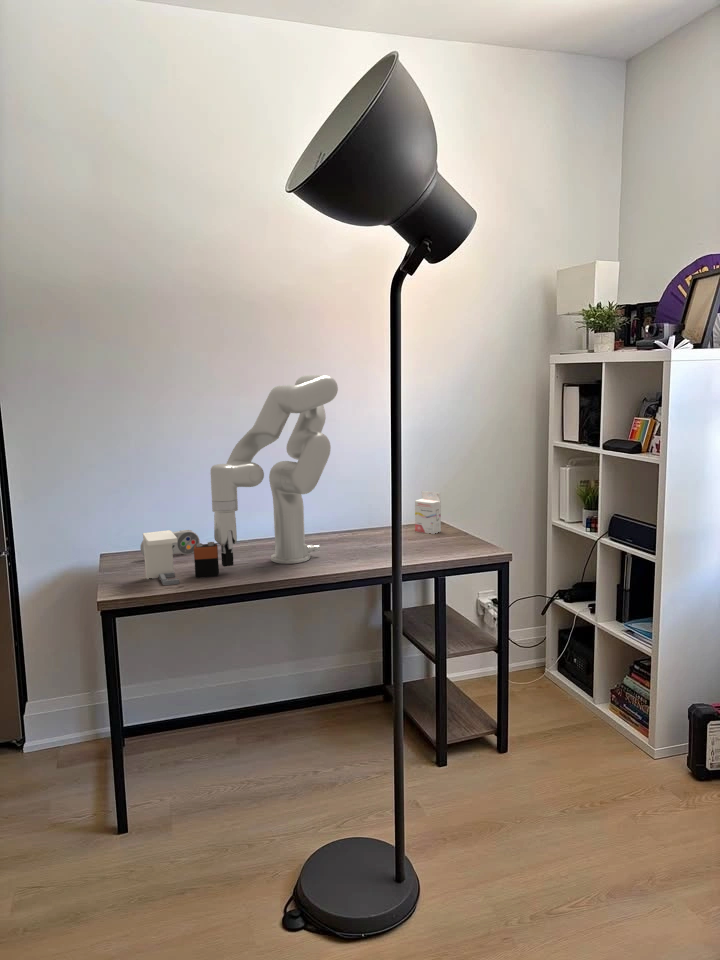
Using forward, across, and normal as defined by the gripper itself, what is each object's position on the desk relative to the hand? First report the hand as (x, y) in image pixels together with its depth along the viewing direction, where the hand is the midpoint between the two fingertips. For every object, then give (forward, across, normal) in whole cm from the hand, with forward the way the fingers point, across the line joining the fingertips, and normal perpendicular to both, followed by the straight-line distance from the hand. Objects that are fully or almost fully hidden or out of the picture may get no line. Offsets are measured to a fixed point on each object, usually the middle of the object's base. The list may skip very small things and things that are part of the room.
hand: (227, 565), depth 221 cm
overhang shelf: (+3, 0, -19) cm, 19 cm away
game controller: (+3, -29, -12) cm, 32 cm away
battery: (+3, 0, -6) cm, 7 cm away
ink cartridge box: (+2, -19, +79) cm, 81 cm away
